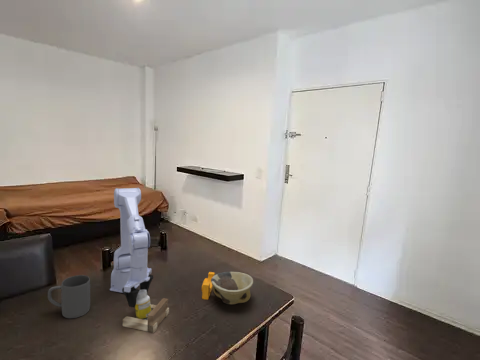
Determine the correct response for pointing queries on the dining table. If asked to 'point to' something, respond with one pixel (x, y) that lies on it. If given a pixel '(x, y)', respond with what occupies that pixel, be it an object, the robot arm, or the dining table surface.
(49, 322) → the dining table surface
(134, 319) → the can dock
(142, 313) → the supplement bottle
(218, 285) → the bowl
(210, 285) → the pipe clamp
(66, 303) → the mug
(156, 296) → the dining table surface
